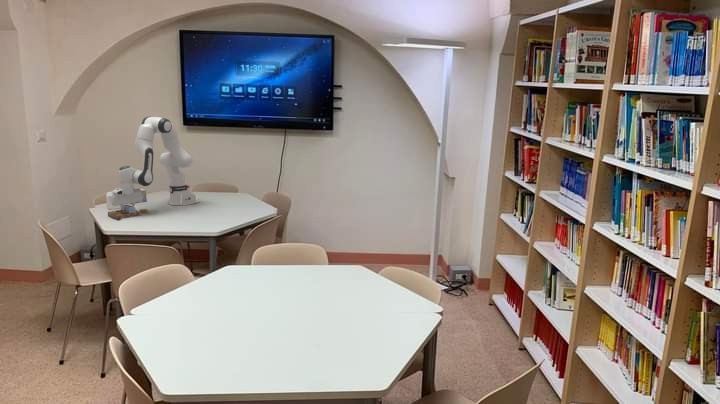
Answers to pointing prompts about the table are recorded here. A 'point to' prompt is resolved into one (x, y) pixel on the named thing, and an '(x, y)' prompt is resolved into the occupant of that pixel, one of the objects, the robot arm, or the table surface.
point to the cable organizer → (109, 204)
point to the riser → (144, 210)
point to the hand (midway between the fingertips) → (128, 209)
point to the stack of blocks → (142, 196)
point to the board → (122, 214)
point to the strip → (129, 208)
